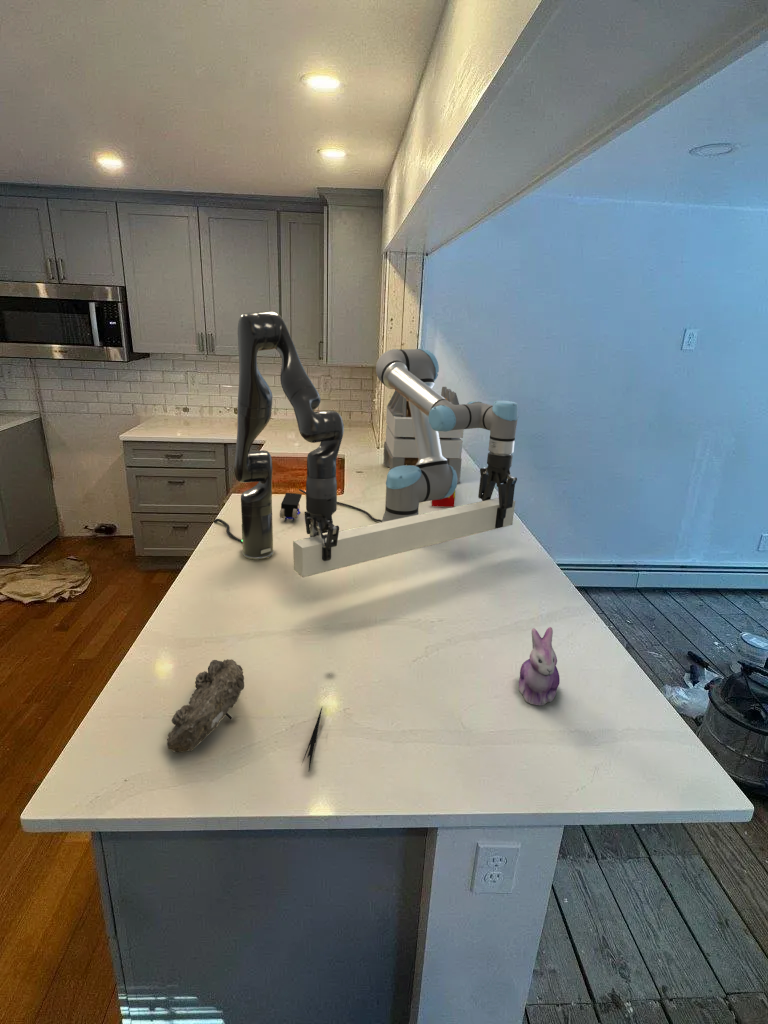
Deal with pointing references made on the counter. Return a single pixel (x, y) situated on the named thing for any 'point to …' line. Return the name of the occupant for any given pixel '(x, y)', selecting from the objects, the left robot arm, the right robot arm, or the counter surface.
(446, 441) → the grey wooden crate
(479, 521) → the beam
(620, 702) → the counter surface
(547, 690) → the figurine
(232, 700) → the fossil
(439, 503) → the toy
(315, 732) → the feather
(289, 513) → the figurine character
